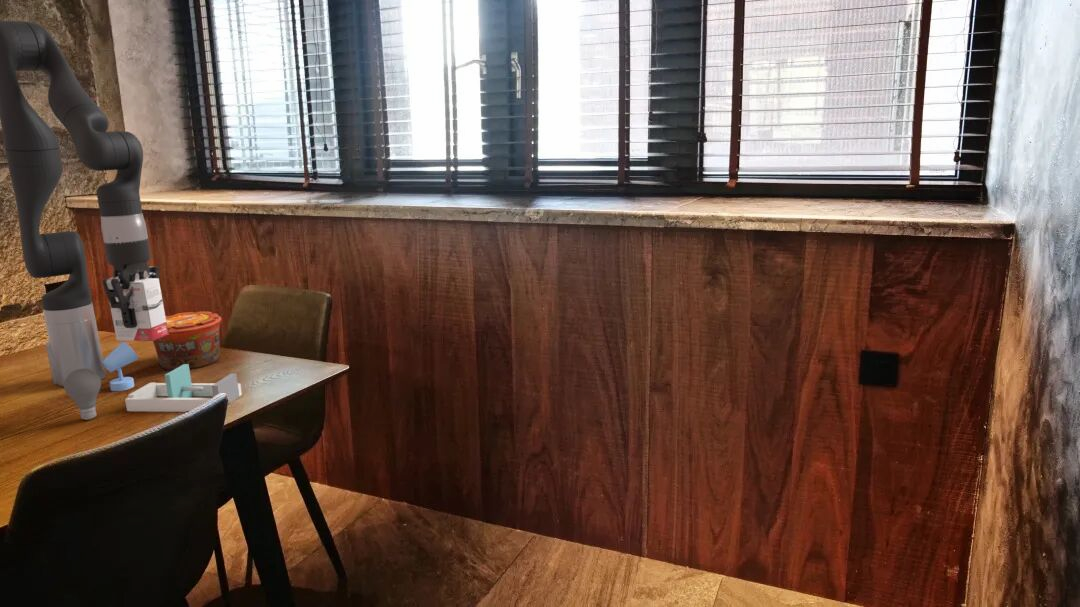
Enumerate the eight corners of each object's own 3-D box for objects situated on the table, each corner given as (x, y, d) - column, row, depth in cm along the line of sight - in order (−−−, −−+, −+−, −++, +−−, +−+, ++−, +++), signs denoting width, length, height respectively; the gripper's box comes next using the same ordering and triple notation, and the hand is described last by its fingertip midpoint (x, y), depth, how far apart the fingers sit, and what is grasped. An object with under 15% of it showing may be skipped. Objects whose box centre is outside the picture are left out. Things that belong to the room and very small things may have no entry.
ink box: (170, 334, 146) (160, 277, 143) (153, 341, 142) (143, 282, 139) (132, 333, 148) (123, 276, 145) (114, 340, 143) (104, 282, 140)
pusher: (169, 407, 144) (164, 374, 143) (188, 395, 151) (183, 364, 149) (194, 407, 144) (189, 375, 142) (212, 395, 150) (207, 364, 148)
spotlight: (137, 380, 162) (103, 389, 157) (130, 337, 160) (95, 344, 155) (146, 385, 159) (111, 394, 154) (138, 341, 157) (103, 348, 152)
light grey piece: (127, 411, 144) (122, 387, 143) (155, 394, 153) (151, 371, 152) (218, 411, 142) (214, 387, 141) (241, 394, 151) (238, 371, 150)
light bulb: (81, 413, 143) (71, 365, 141) (113, 411, 144) (104, 363, 142) (64, 425, 138) (54, 375, 135) (97, 423, 138) (88, 373, 136)
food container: (200, 374, 165) (193, 328, 162) (137, 372, 168) (130, 327, 165) (240, 352, 180) (234, 310, 178) (182, 351, 183) (175, 310, 180)
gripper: (119, 243, 133) (134, 333, 137) (166, 232, 147) (179, 314, 151) (81, 244, 134) (97, 333, 138) (131, 233, 147) (145, 314, 151)
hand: (140, 323), depth 144 cm, fingers closed on ink box, 5 cm apart
